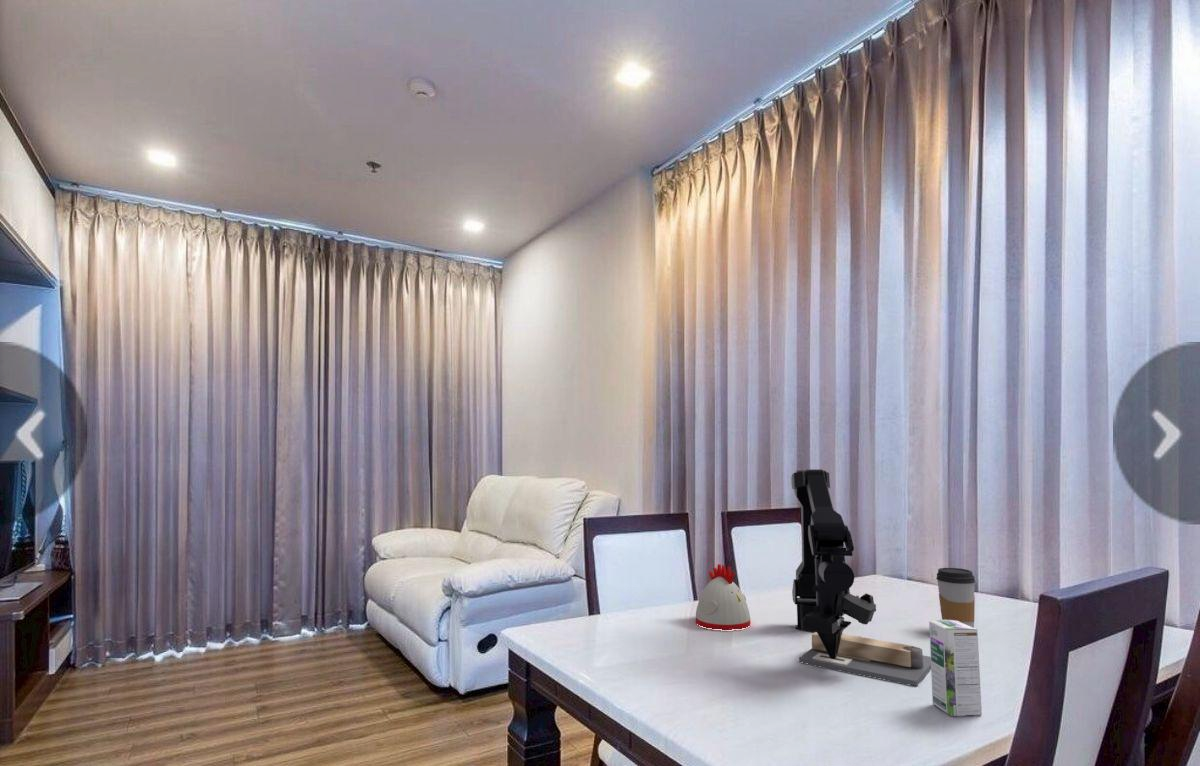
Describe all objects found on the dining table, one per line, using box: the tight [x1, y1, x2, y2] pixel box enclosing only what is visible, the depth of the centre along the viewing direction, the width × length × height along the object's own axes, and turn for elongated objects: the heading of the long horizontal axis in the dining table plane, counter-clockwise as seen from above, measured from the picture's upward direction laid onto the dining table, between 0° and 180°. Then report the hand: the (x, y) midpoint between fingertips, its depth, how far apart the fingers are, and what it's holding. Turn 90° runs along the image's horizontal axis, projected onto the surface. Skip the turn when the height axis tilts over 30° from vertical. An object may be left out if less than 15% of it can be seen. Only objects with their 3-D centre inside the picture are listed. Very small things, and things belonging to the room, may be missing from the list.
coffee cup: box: [936, 567, 976, 628], centre depth 157 cm, size 8×8×15 cm
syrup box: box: [928, 619, 983, 717], centre depth 113 cm, size 6×6×14 cm
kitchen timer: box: [695, 563, 752, 630], centre depth 168 cm, size 14×14×15 cm
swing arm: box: [811, 632, 924, 668], centre depth 137 cm, size 22×4×3 cm, turn 52°
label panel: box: [798, 648, 931, 687], centre depth 137 cm, size 23×17×1 cm
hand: (833, 658), depth 134 cm, fingers closed
